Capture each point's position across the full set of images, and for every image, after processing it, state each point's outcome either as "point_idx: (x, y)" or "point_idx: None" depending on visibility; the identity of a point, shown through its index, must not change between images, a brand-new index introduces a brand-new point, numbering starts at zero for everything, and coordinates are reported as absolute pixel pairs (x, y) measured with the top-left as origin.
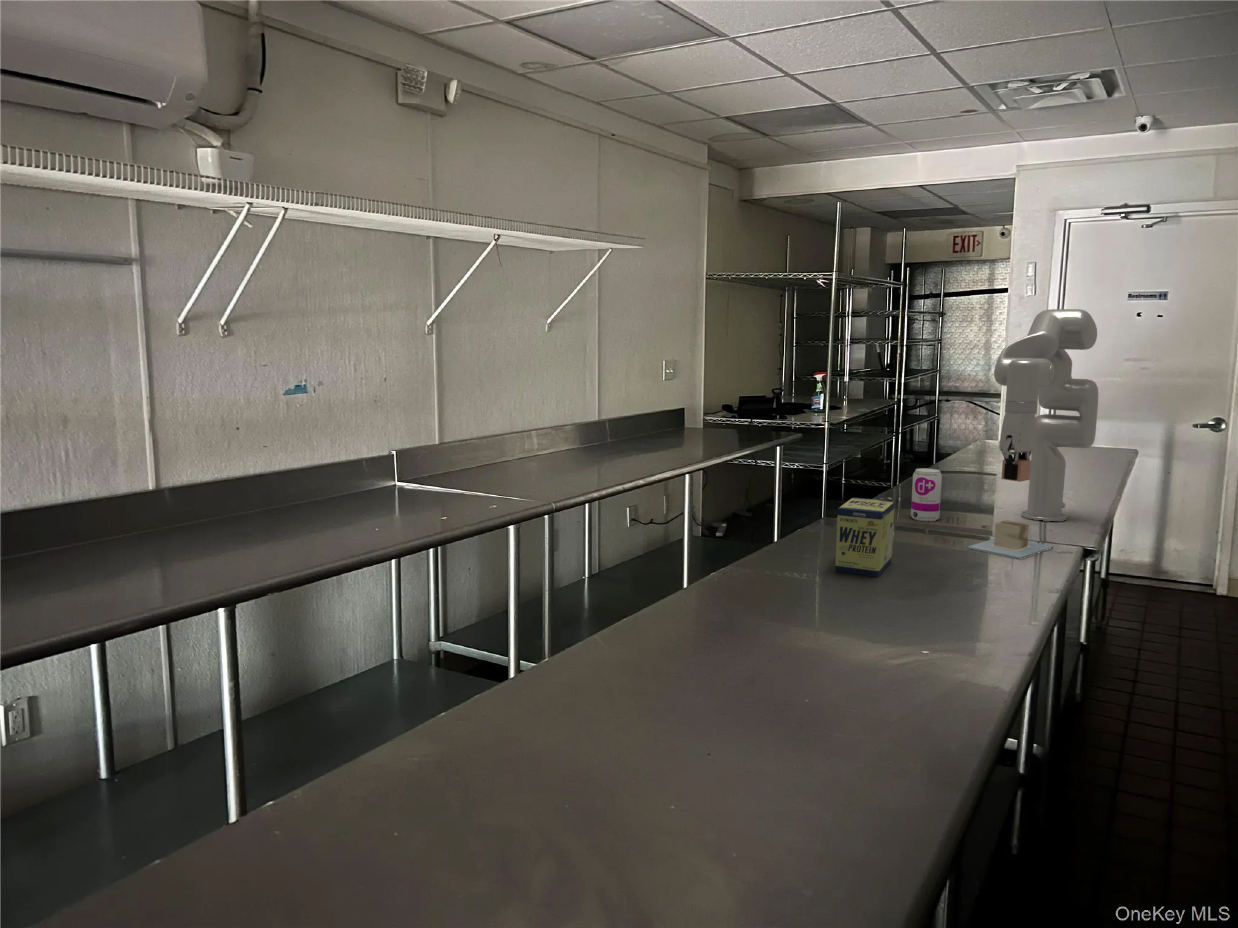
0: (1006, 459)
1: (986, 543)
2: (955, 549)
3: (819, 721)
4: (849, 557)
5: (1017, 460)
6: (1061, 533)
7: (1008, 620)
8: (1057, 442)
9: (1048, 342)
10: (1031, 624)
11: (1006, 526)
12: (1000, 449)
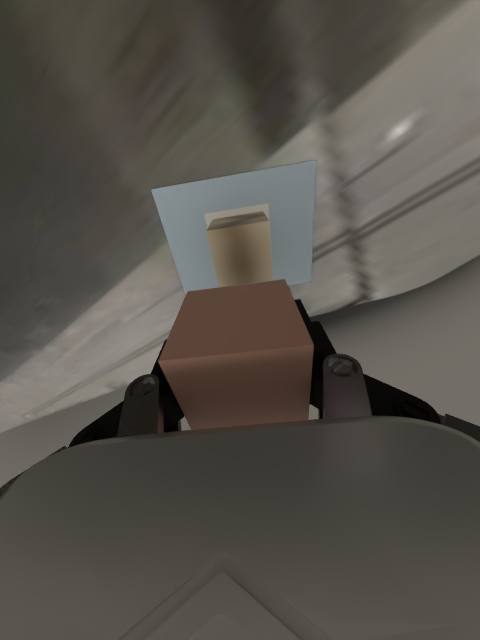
0: (111, 422)
1: (215, 193)
2: (120, 175)
3: None
4: None
5: (240, 405)
6: (474, 210)
7: (5, 407)
8: None
9: None
10: (23, 416)
11: (213, 259)
12: (24, 479)
